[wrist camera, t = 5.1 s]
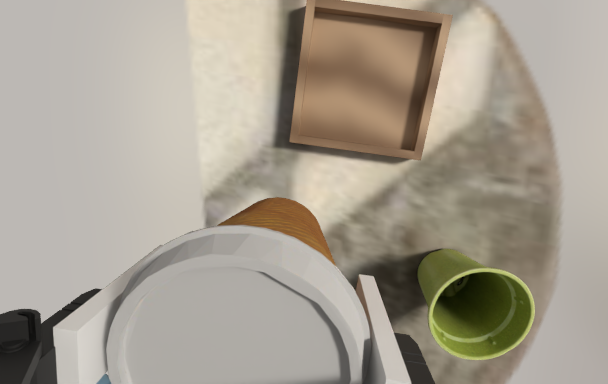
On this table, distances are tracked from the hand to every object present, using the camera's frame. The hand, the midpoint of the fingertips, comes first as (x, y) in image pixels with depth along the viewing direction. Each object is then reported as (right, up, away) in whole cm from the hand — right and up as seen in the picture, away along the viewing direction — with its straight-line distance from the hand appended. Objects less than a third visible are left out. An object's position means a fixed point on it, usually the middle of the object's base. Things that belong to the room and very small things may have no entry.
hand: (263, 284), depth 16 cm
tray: (+8, +16, +16) cm, 24 cm away
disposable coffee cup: (0, +1, +6) cm, 6 cm away
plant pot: (+19, -5, +21) cm, 28 cm away
